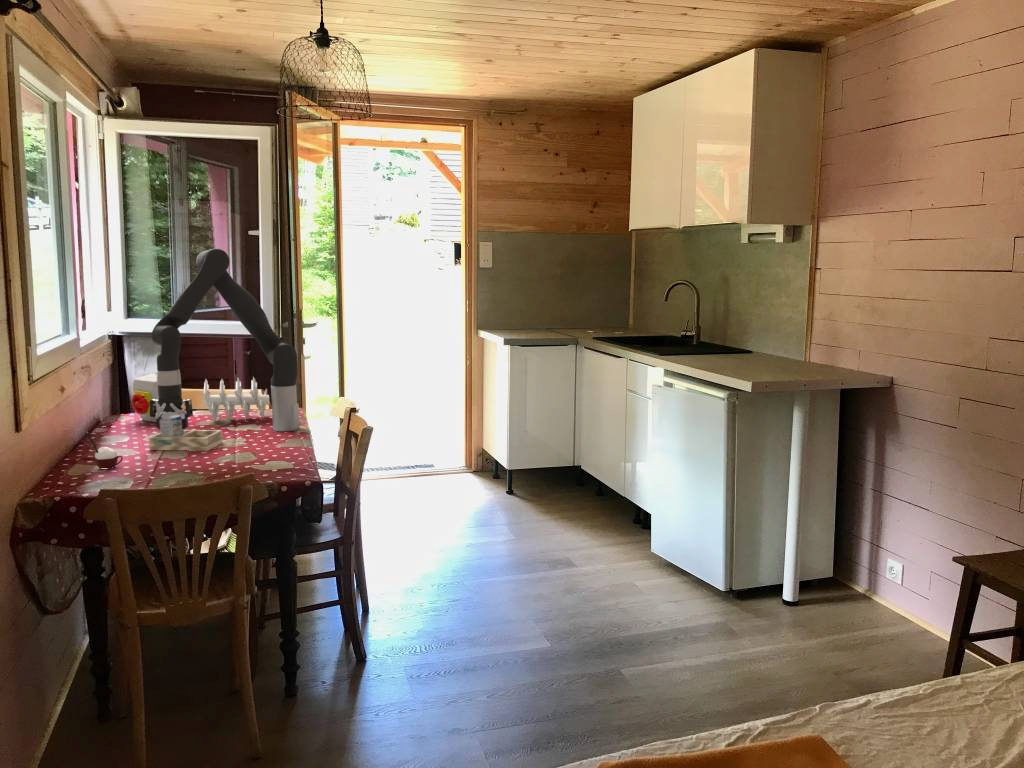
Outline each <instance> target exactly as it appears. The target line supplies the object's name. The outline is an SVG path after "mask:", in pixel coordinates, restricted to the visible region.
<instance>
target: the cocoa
mask: <svg viewBox="0 0 1024 768" xmlns="http://www.w3.org/2000/svg"><path fill="white" fill-rule="evenodd" d="M85 433H86V435H87V437H88V439H89V441H90V443H91V445H92V447H93V448H94V450H95V453H94V457H95V458H94V460H95V463H96V466H97V468H98V469H100V468H112V467H114V468H115V467H116V466H118V465H119V464H121V463H122V461H123V459H124V457H123V456H122V455H118V452H117V451H116V450H115V449H113V448H111V447H108V446H103V447H99V448H97V447H96V445H95V442H94V441H93V438H92V437H91V435H90V433H89V432H88V431H86V432H85ZM119 458H120V460H119V461H118V459H119ZM112 469H113V468H112Z"/></svg>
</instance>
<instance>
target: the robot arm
mask: <svg viewBox="0 0 1024 768" xmlns="http://www.w3.org/2000/svg"><path fill="white" fill-rule="evenodd" d="M195 261H196V262H195V263H196V266H197V268H198V273H197V275H196V276H195V277H194V279H193V280H192V281H191V282H190V283H189V285H187V287H186V288H185V289H184V290H183V291H182V292H181V293H180V294H179V295H178V297H177V298H176V300H175V301H174V302H173V304H172V306H171V307H170V309H169V310H168V312H167V313H166V314H165V315H164V316H162V318H161V319H160V320H159V321H158V322H157V323H156V324H155V325H154V327H153V328H152V331H151V340H152V341H153V342H154V343H155V345H158V346H161V348H160V350H161V351H160V353H159V354H157V356H156V369H157V372H156V373H157V384H158V396H159V400H156V399H152V400H150V417H154V418H156V422H155V424H156V428H157V429H158V430H160V420H161V419H162V418H161V417H162V415H163V414H164V413H165V412H176V413H177V414H179V415H180V416H181V418H182V419H181V421H182V429H184V430H187V428H188V427H189V422H188V421H189V420H188V418H190V417H193V415H194V412H193V404H192V402H193V401H192V399H191V398H188V399H183V398H182V396H183V395H182V393H183V391H182V389H183V388H182V378H181V377H182V376H181V371H180V361H179V356H180V352H181V345H182V335H181V332H180V330H179V328H180V327H182V326H185V325H187V323H188V322H189V321H190V319H191V318H192V316H193V314H194V313H195V311H196V310H197V308H198V306H200V303H201V302H202V301H203V299H204V298H205V296H206V294H207V293H208V292H209V291H210V290H211V288H212V287H214V288H215V289H216V291H217V292H218V293H219V295H220V296H221V297H222V299H223V300H224V301H225V303H226V305H228V307H229V308H230V310H231V311H232V312H233V314H234V316H236V318H237V319H238V321H239V322H240V323H241V324H242V326H243V327H244V328H245V329H246V331H248V332H249V334H250V335H251V336H252V337H253V338H254V339H255V341H256V342H257V344H258V345H259V347H260V348H261V350H262V351H263V353H264V355H265V357H266V358H267V360H268V361H269V362H270V364H272V365H273V368H272V370H273V372H272V373H273V374H272V377H271V378H270V390H271V391H270V395H271V396H270V397H271V413H272V415H271V416H272V430H273V431H274V430H275V432H291V431H296V430H298V429H299V428H300V405H299V403H298V400H297V396H298V395H297V379H298V354H297V351H296V348H294V346H292V345H291V344H288V343H285V342H283V341H282V339H280V337H279V336H278V335H277V334H276V332H275V331H274V330H273V329H272V327H271V325H270V322H269V320H268V317H267V315H266V312H265V311H264V309H263V308H262V306H261V305H260V304H259V302H258V301H257V299H256V298H255V297H254V295H253V294H251V292H249V291H248V290H246V289H245V288H244V287H243V286H242V285H240V284H239V283H238V282H237V281H235V279H233V277H232V276H231V275H230V273H229V272H228V269H229V266H230V257H229V255H228V253H227V252H226V251H225V250H223V249H220V248H211V249H206V250H204V251H201V252H200V253H199V254H198V255H197V256H196V259H195ZM158 404H159V405H160V407H161V408H160V409H159V411H158V413H157V408H156V406H157V405H158ZM183 406H184V407H185V409H184V407H183Z"/></svg>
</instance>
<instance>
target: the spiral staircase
mask: <svg viewBox="0 0 1024 768" xmlns="http://www.w3.org/2000/svg"><path fill="white" fill-rule="evenodd" d="M204 379H205V380H204V383H203V385H204V386H203V405H204V406H207V408H208V411H209V414H210V415H211V419H212V423H213V424H214V423H215V422H216V421H217V420H218V418H219V417H218V415H219V412H220V406H223V408H224V410H225V415H227V419H229V420H228V423H231V422H232V420H233V418H234V411H235V410H236V409H235V406H240V408H241V409H242V410H243V415H244V420H245V421H247V420H248V419H249V417H250V416H249V415H250V412H251V406H252V405H253V406H256V408H257V410H258V411H259V415H260V420H261V421H262V420H263V419H264V417H265V411H266V406H269V405H270V395H269V394H268V388H265V390H264V392H263V393H264V394H259V389H258V382H257V381H256V378H255V377H254V376H252V379H251V383H250V385H251V388H250V389H249V391H248V394H243V388H242V381H240V379H239V377H237V379H236V381H235V390H234V391H233V393H232V394H227V393H226V385H225V384H224V383H225V382H224V379H223V378H221V380H220V381H219V390H218V392H217V394H215V395H214V394H211V393H210V385H209V384H208V380H207V378H204ZM262 418H263V419H262ZM246 419H247V420H246Z"/></svg>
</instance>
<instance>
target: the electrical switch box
mask: <svg viewBox="0 0 1024 768" xmlns="http://www.w3.org/2000/svg"><path fill="white" fill-rule="evenodd" d="M132 391H133V395H132V398H131V404H132V407H133V410H134V411H135V412H136V413H137V414H138V415H139V417H140V418H141V420H142V421H145V422H151V421H152V423H156V418H154V417H150V400H152V399H156V400H159V396H158V384H157V372H153V373H150V374H146V375H143V376H139V377H137V378H134V379H133V382H132ZM156 408H157V413H158V411H159V409H160V408H161V407H160V405H159V404H158V405H157V406H156ZM172 415H179V414H177V413H176V412H165V413H164V414H163V415H162V417H161V418H162V419H163V418H166V417H169V416H172Z"/></svg>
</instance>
